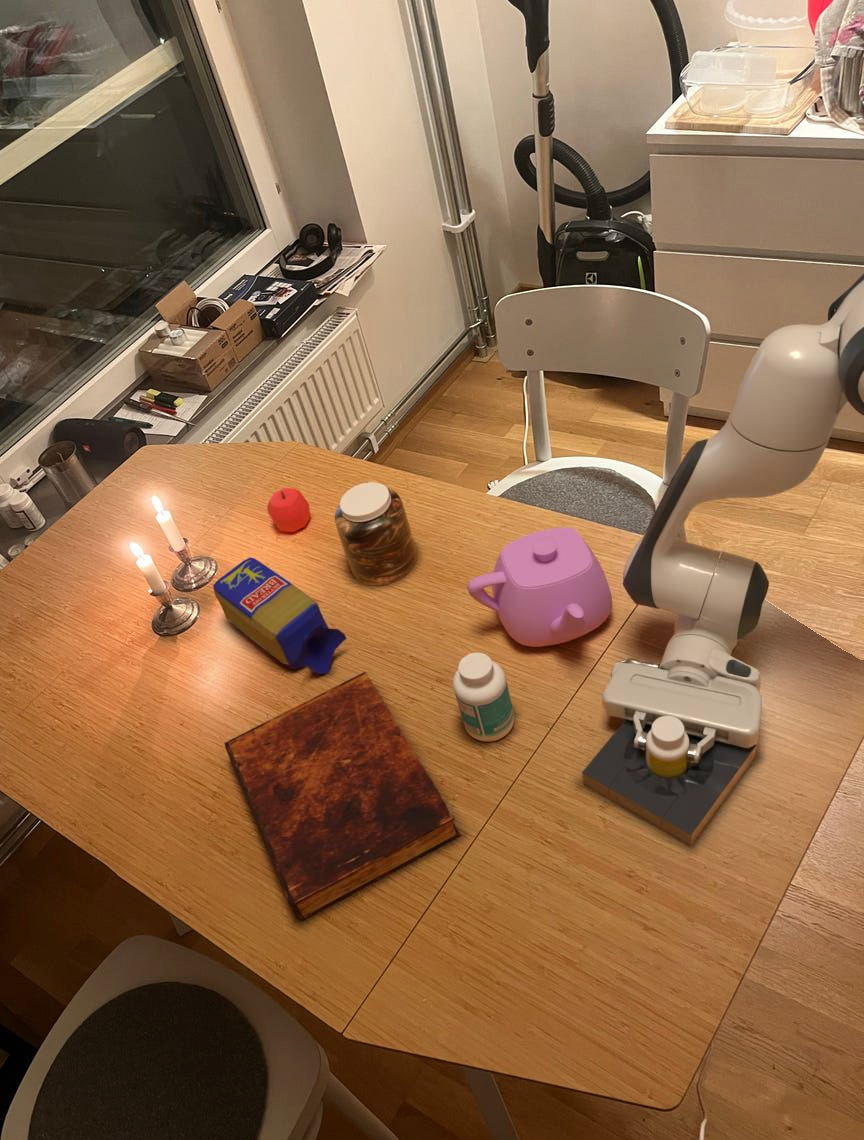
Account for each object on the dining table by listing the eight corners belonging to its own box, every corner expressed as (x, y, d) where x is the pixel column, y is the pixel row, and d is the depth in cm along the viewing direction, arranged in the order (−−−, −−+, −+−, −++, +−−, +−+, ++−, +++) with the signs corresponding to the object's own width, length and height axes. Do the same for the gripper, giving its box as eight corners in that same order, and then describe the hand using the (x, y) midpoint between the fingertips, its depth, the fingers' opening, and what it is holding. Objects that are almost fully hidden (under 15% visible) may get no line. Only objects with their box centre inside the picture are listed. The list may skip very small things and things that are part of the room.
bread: (268, 588, 164) (249, 547, 156) (355, 652, 149) (339, 610, 141) (224, 622, 160) (202, 582, 153) (309, 692, 146) (289, 650, 138)
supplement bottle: (694, 781, 120) (697, 739, 113) (654, 792, 121) (654, 751, 113) (679, 748, 124) (680, 706, 117) (640, 759, 124) (639, 717, 117)
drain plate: (755, 757, 121) (756, 744, 118) (690, 846, 115) (691, 834, 112) (648, 704, 130) (648, 691, 127) (583, 784, 124) (581, 772, 121)
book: (234, 761, 140) (223, 743, 136) (374, 690, 143) (366, 670, 139) (301, 922, 120) (289, 905, 116) (461, 836, 123) (455, 817, 119)
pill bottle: (516, 702, 135) (505, 644, 125) (513, 744, 130) (500, 686, 121) (467, 702, 137) (451, 644, 127) (461, 743, 132) (445, 687, 123)
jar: (365, 537, 167) (344, 473, 156) (425, 541, 162) (408, 476, 151) (343, 584, 160) (319, 520, 149) (404, 589, 156) (385, 525, 145)
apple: (314, 506, 176) (302, 473, 170) (314, 533, 171) (302, 501, 165) (275, 514, 177) (261, 482, 171) (273, 542, 172) (260, 510, 166)
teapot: (464, 601, 151) (449, 534, 140) (587, 563, 150) (581, 493, 139) (504, 705, 135) (490, 639, 124) (641, 663, 135) (639, 593, 124)
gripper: (617, 642, 127) (585, 719, 120) (773, 673, 118) (749, 759, 111) (618, 670, 132) (588, 746, 125) (768, 702, 123) (746, 786, 116)
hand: (665, 753), depth 118 cm, fingers closed on supplement bottle, 5 cm apart
